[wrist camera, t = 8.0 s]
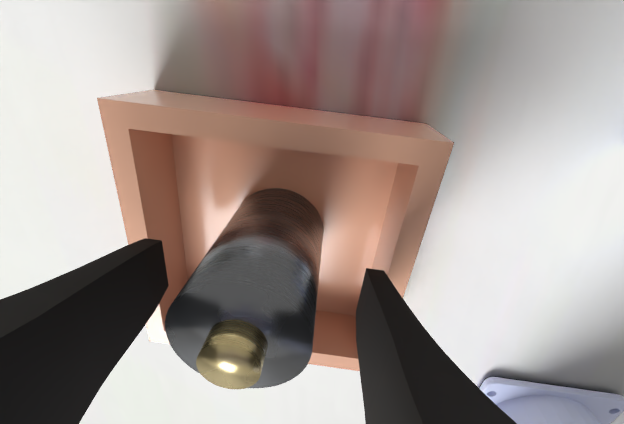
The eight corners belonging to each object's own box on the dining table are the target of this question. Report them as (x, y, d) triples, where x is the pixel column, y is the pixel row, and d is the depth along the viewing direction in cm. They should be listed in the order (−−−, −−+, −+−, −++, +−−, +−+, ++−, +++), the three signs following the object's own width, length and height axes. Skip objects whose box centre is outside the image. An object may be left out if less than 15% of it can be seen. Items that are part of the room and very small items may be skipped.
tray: (371, 321, 16) (377, 373, 13) (180, 295, 16) (149, 341, 14) (426, 123, 11) (454, 142, 9) (153, 89, 11) (97, 98, 9)
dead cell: (316, 271, 14) (299, 427, 8) (234, 258, 14) (156, 402, 8) (330, 196, 12) (321, 323, 6) (236, 181, 12) (137, 293, 6)
